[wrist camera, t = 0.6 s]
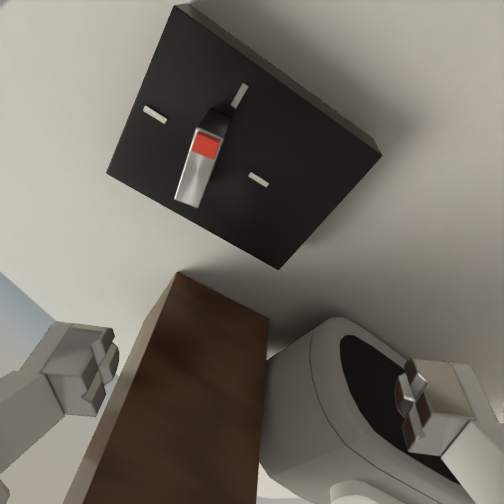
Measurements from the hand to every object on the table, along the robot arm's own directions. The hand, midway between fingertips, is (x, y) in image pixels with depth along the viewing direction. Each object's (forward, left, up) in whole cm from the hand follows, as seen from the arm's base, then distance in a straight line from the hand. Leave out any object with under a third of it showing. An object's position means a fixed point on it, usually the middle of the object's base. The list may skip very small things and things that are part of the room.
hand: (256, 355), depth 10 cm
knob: (-4, -2, -15) cm, 16 cm away
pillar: (+4, -19, -18) cm, 26 cm away
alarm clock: (+20, -15, -18) cm, 31 cm away
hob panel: (-2, -2, -18) cm, 18 cm away
